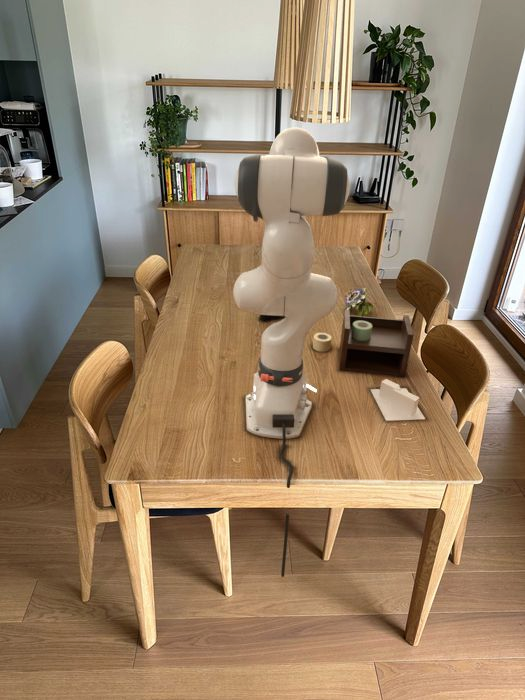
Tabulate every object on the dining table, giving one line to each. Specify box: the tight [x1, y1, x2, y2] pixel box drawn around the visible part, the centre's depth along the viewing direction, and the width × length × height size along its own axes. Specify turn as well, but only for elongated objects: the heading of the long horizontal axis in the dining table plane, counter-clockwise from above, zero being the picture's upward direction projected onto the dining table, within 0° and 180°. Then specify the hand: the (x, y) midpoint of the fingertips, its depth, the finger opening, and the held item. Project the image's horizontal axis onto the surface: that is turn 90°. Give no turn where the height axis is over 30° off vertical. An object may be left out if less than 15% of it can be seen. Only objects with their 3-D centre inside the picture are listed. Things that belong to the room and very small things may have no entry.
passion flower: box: [345, 287, 377, 317], centre depth 192 cm, size 11×11×12 cm
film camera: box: [259, 303, 285, 322], centre depth 187 cm, size 15×10×9 cm, turn 115°
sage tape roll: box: [351, 321, 372, 341], centre depth 155 cm, size 6×6×4 cm
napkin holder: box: [369, 378, 426, 422], centre depth 141 cm, size 15×11×6 cm
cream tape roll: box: [312, 332, 333, 353], centre depth 168 cm, size 6×6×4 cm
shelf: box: [338, 309, 415, 378], centre depth 158 cm, size 14×20×15 cm
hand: (287, 263), depth 153 cm, fingers open, 8 cm apart
